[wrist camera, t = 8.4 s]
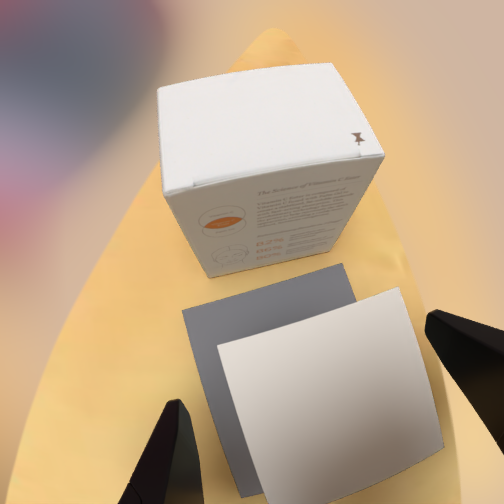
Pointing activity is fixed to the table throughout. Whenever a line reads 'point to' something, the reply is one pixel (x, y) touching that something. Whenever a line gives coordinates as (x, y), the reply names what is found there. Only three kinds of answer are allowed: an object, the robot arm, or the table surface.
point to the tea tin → (333, 401)
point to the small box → (263, 163)
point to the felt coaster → (248, 324)
